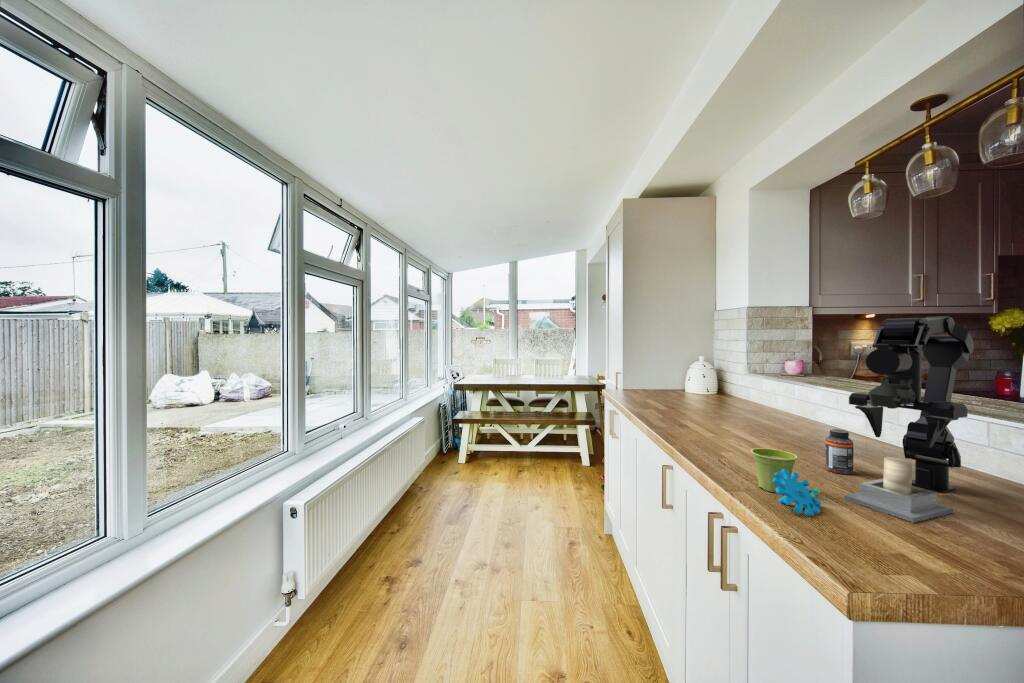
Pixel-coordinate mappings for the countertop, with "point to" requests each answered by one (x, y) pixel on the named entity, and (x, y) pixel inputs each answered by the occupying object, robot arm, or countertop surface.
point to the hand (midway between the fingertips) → (902, 441)
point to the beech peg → (897, 475)
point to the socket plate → (912, 517)
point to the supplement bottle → (839, 452)
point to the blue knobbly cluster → (797, 492)
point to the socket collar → (898, 497)
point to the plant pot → (771, 465)
